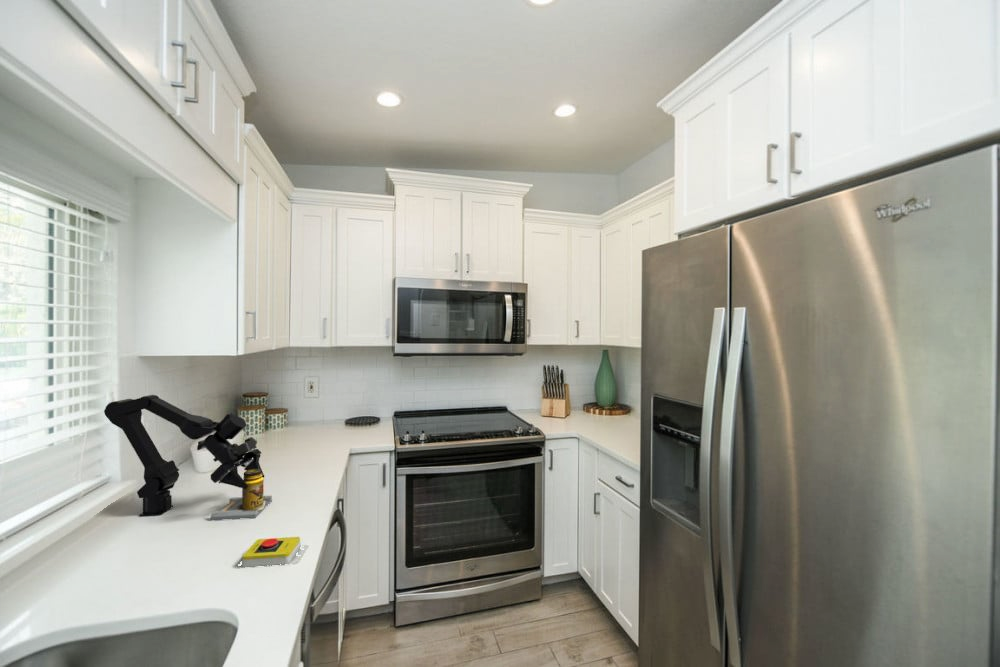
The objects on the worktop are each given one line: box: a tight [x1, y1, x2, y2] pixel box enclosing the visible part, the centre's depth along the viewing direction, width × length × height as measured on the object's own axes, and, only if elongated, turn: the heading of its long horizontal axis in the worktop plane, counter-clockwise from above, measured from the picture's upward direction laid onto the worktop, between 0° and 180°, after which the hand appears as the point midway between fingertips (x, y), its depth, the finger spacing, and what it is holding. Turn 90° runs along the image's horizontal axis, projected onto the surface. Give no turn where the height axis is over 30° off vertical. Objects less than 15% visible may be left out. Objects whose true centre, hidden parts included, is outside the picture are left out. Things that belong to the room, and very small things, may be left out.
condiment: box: [235, 468, 266, 510], centre depth 136 cm, size 7×8×12 cm
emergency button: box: [235, 536, 310, 569], centre depth 108 cm, size 9×4×15 cm
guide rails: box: [210, 494, 273, 518], centre depth 136 cm, size 13×12×1 cm
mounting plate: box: [210, 498, 273, 521], centre depth 136 cm, size 13×13×1 cm
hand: (255, 482), depth 136 cm, fingers open, 9 cm apart
